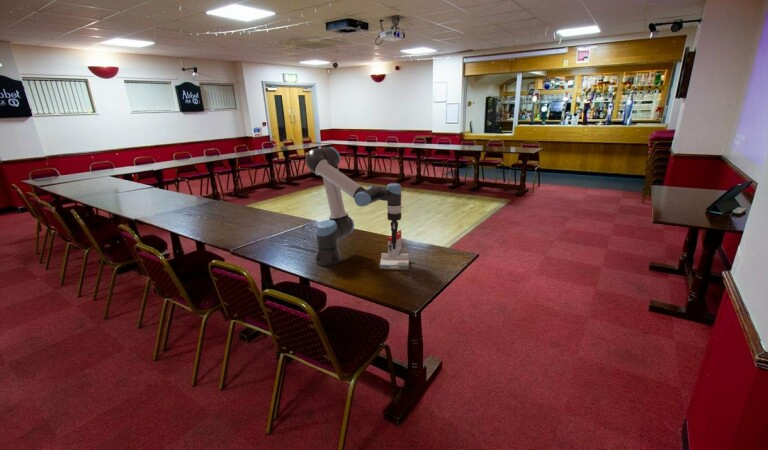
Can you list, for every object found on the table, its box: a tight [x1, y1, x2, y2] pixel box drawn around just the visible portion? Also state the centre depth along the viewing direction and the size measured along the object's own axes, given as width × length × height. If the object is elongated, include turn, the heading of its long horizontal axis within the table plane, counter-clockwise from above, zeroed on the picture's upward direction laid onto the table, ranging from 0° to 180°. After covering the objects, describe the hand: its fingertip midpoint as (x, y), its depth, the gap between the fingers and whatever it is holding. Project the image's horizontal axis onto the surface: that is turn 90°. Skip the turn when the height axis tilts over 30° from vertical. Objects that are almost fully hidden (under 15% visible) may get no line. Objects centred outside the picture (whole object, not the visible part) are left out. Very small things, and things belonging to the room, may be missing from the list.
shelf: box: [379, 252, 410, 271], centre depth 205 cm, size 16×12×4 cm
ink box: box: [387, 229, 402, 259], centre depth 202 cm, size 8×5×15 cm, turn 155°
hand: (394, 250), depth 203 cm, fingers closed on ink box, 9 cm apart
